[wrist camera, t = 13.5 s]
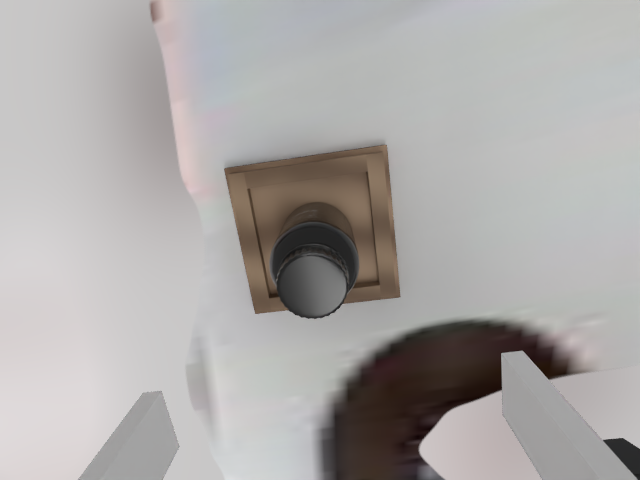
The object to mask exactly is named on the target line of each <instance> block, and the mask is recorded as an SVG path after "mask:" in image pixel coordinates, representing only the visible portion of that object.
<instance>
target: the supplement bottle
mask: <svg viewBox="0 0 640 480" xmlns="http://www.w3.org/2000/svg"><path fill="white" fill-rule="evenodd" d="M269 269H270V274H271V278H272V280H273V282H274V284H275V286H276V289H277V291H278V296H279V297H280V301H281V302H282V303H283V304H284V306H285V307H286V308H288V310H289V311H290V312H293V313H294V314H295V315H299V316H300V317H306V318H308V319H309V318H314V319H316V318H323V317H324V316H329V315H330V314H331V313H334V312H335V311H336V310H337V309H339V308H340V306H341V305H342V304H343V303H344V299H345V298H346V297H347V294H348V293H349V292H350V291H351V289H352V288H353V286H354V285H355V283H356V280H357V277H358V274H359V255H358V251H357V247H356V243H355V239H354V235H353V231H352V228H351V225H350V223H349V221H348V219H347V218H346V216H345V215H344V214H343V213H342V212H341V211H340V210H339V209H337V208H336V207H334V206H332V205H330V204H326V203H322V202H312V203H307V204H304V205H302V206H300V207H298V208H296V209H295V210H294V211H293V212H292V213H291V214H290V215H289V216H288V217H287V219H286V221H285V222H284V224H283V226H282V228H281V231H280V233H279V235H278V237H277V239H276V241H275V243H274V245H273V248H272V251H271V254H270V260H269Z"/></svg>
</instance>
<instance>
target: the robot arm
mask: <svg viewBox="0 0 640 480" xmlns="http://www.w3.org/2000/svg"><path fill="white" fill-rule="evenodd" d="M501 361H502V402H503V403H502V404H503V416H504V418H505V419H506V421H507V423H508V424H509V426H510V427H511V429H512V431H513V432H514V434H515V436H516V437H517V439H518V441H519V442H520V444H521V445H522V447H523V449H524V450H525V452H526V454H527V455H528V457H529V459H530V460H531V461H532V463H533V465H534V467H535V468H536V470H537V472H538V473H539V475H540V477H541V478H542V480H640V449H639V448H637V447H636V446H634V445H633V444H631V443H630V442H628V441H626V440H625V439H623V438H619V439H608V440H602V439H601V438H600V437H599V436H598V435H597V434H596V432H595V431H594V430H593V429H592V428H591V427H590V426H589V425H588V424H587V422H586V421H585V420H584V419H583V418H582V417H581V416H580V415H579V413H578V412H577V411H576V410H575V409H574V408H573V407H572V406H571V404H570V403H569V402H568V401H567V400H566V399H565V398H564V396H563V395H562V394H561V393H560V392H559V391H558V390H557V389H556V388H555V386H554V385H553V384H552V383H551V382H550V381H549V380H548V379H547V377H546V376H545V375H544V374H543V373H542V372H541V371H540V370H539V368H538V367H537V366H536V365H535V364H534V363H533V362H532V361H531V359H530V358H529V357H528V356H527V355H526V354H525V353H524V352H523V351H517V352H508V353H501ZM178 448H179V444H178V441H177V438H176V434H175V432H174V428H173V425H172V422H171V419H170V416H169V413H168V410H167V407H166V403H165V400H164V397H163V394H162V391H155V392H147V393H143V394H142V395H141V396H140V398H139V399H138V400H137V402H136V403H135V404H134V406H133V407H132V408H131V410H130V411H129V412H128V414H127V415H126V416H125V418H124V419H123V420H122V422H121V423H120V424H119V426H118V427H117V428H116V430H115V431H114V432H113V434H112V435H111V436H110V438H109V439H108V440H107V442H106V443H105V444H104V446H103V447H102V448H101V450H100V451H99V452H98V454H97V455H96V456H95V458H94V459H93V461H92V462H91V463H90V464H89V466H88V467H87V468H86V470H85V471H84V473H83V474H82V475H81V476H80V478H79V479H78V480H163V478H164V476H165V474H166V472H167V470H168V468H169V466H170V464H171V462H172V460H173V458H174V456H175V454H176V452H177V450H178Z"/></svg>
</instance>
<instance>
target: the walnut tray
mask: <svg viewBox="0 0 640 480" xmlns="http://www.w3.org/2000/svg"><path fill="white" fill-rule="evenodd" d="M224 170H225V175H226V179H227V184H228V189H229V193H230V198H231V203H232V207H233V212H234V217H235V221H236V226H237V231H238V235H239V240H240V245H241V250H242V254H243V259H244V264H245V268H246V273H247V278H248V282H249V287H250V292H251V296H252V301H253V306H254V310H255V314H259V313H267V312H276V311H285V310H288V308H286V307H285V306H284V304H283V303H282V302H281V301H280V297H279V296H278V291H277V289H276V286H275V284H274V282H273V280H272V278H271V274H270V269H269V260H270V254H271V251H272V248H273V245H274V243H275V241H276V239H277V237H278V235H279V233H280V231H281V228H282V226H283V224H284V222H285V221H286V219H287V217H288V216H289V215H290V214H291V213H292V212H293V211H294V210H295V209H296V208H298V207H300V206H302V205H304V204H307V203H312V202H322V203H326V204H330V205H332V206H334V207H336V208H337V209H339V210H340V211H341V212H342V213H343V214H344V215H345V216H346V218H347V219H348V221H349V223H350V225H351V228H352V231H353V235H354V239H355V243H356V247H357V251H358V255H359V274H358V277H357V280H356V283H355V285H354V286H353V288H352V289H351V291H350V292H349V293H348V294H347V297H346V298H345V299H344V303H343V304H346V303H354V302H363V301H372V300H380V299H389V298H398V297H400V288H399V277H398V266H397V254H396V243H395V232H394V220H393V209H392V198H391V187H390V175H389V164H388V153H387V145H381V146H374V147H367V148H360V149H353V150H346V151H339V152H333V153H326V154H319V155H312V156H305V157H298V158H291V159H285V160H278V161H271V162H264V163H257V164H250V165H243V166H237V167H230V168H225V169H224Z"/></svg>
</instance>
